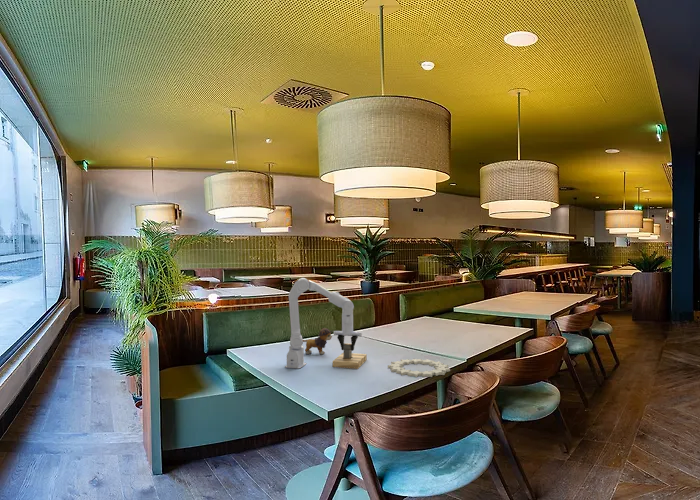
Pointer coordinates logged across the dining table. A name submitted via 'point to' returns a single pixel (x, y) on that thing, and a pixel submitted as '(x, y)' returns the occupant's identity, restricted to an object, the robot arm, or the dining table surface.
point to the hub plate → (350, 361)
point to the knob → (347, 350)
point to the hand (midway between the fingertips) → (347, 349)
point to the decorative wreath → (439, 370)
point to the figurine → (318, 341)
